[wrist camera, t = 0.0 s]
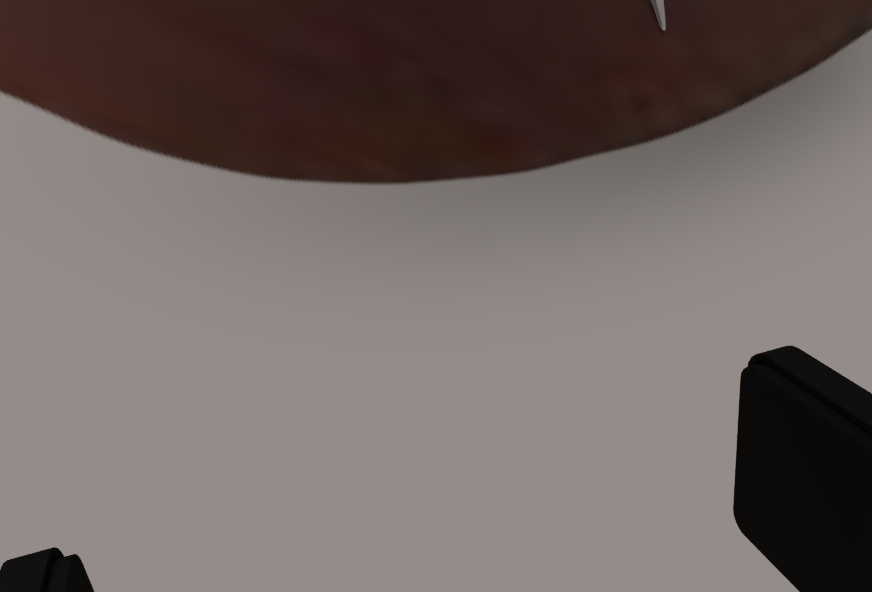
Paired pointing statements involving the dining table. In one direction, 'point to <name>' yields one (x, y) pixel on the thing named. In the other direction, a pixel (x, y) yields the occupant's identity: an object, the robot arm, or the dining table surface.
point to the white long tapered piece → (659, 12)
